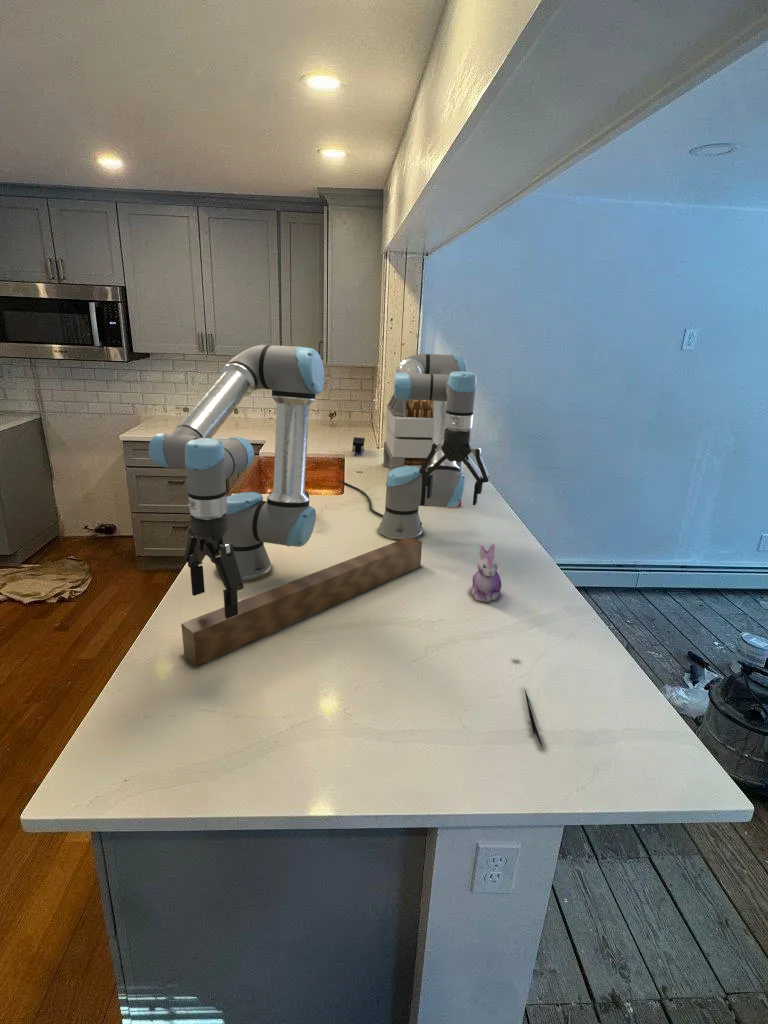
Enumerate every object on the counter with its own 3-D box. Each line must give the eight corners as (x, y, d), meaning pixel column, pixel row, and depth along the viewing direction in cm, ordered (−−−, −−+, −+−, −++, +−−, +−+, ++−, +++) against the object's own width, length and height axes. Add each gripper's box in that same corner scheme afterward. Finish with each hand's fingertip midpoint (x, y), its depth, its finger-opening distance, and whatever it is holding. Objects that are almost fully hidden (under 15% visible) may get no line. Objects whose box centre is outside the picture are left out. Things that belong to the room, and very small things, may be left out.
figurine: (483, 606, 153) (489, 555, 148) (461, 589, 161) (466, 541, 156) (510, 599, 157) (517, 550, 152) (488, 583, 166) (493, 536, 161)
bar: (407, 561, 179) (409, 536, 176) (420, 566, 175) (422, 541, 172) (184, 656, 126) (181, 623, 123) (196, 666, 123) (193, 632, 120)
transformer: (382, 463, 289) (386, 382, 275) (445, 464, 293) (451, 384, 279) (390, 482, 257) (394, 392, 243) (460, 483, 261) (468, 394, 247)
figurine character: (364, 459, 300) (364, 449, 314) (364, 445, 297) (365, 436, 311) (351, 458, 300) (352, 449, 314) (351, 445, 297) (352, 435, 310)
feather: (516, 665, 130) (521, 659, 130) (541, 751, 103) (548, 744, 103) (510, 661, 130) (515, 655, 129) (534, 747, 103) (541, 739, 103)
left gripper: (162, 502, 123) (170, 589, 130) (225, 536, 107) (231, 633, 115) (194, 495, 128) (200, 580, 136) (258, 526, 113) (262, 620, 120)
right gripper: (411, 426, 159) (407, 498, 166) (501, 436, 151) (492, 510, 159) (418, 421, 165) (414, 490, 173) (504, 431, 158) (496, 502, 165)
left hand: (214, 604), depth 125 cm, fingers open, 13 cm apart
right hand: (451, 500), depth 166 cm, fingers open, 13 cm apart
